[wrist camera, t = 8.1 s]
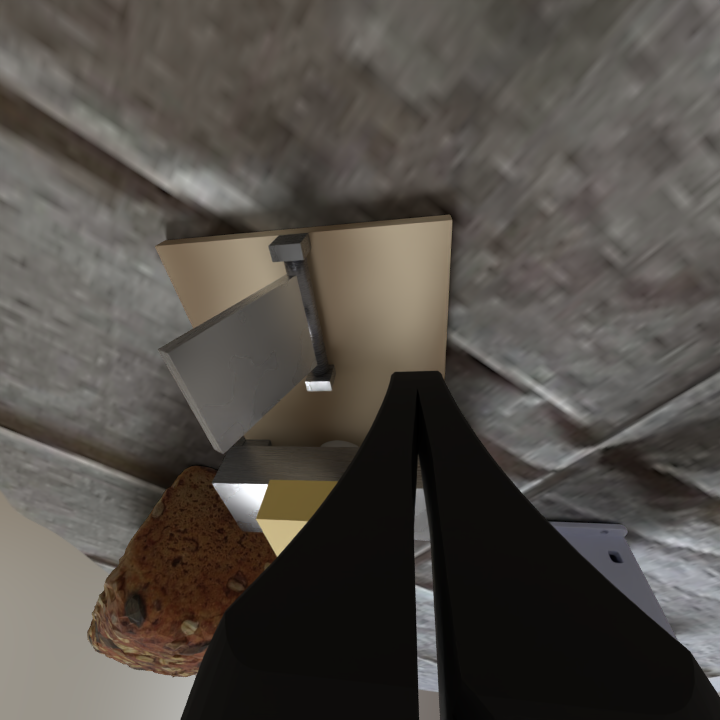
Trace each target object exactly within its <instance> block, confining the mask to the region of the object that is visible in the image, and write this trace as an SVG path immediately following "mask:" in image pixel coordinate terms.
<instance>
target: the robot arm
mask: <svg viewBox="0 0 720 720" xmlns="http://www.w3.org/2000/svg"><path fill="white" fill-rule="evenodd" d="M418 455H419V462H420V469H421V476H422V483H423V490H424V497H425V504H426V511H427V518H428V525H429V533H430V543H431V558H432V576H433V593H434V611H435V629H436V648H437V667H438V686H439V706H440V720H720V697H719V695H718V693H717V692H716V690H715V689H714V687H713V686H712V684H711V683H710V681H709V680H708V678H707V676H706V675H705V673H704V672H703V670H702V669H701V667H700V666H699V664H698V663H697V661H696V660H695V658H694V657H693V655H692V653H691V652H690V651H689V650H688V649H687V648H685V647H684V646H683V645H682V644H681V643H680V642H678V640H677V638H676V636H675V634H674V632H673V630H672V628H671V626H670V624H669V622H668V620H667V618H666V616H665V614H664V612H663V611H662V609H661V607H660V605H659V603H658V601H657V599H656V597H655V595H654V593H653V591H652V589H651V587H650V586H649V584H648V582H647V580H646V578H645V576H644V574H643V572H642V570H641V568H640V566H639V564H638V563H637V561H636V559H635V557H634V555H633V553H632V551H631V549H630V547H629V545H628V543H627V541H626V539H625V538H624V537H625V536H626V534H627V533H628V531H627V529H626V527H625V526H624V525H621V524H601V523H575V522H550V521H547V520H546V519H545V518H544V517H543V516H542V515H541V514H540V513H539V511H538V510H537V509H536V508H535V507H534V506H533V505H532V504H531V503H530V502H529V500H528V499H527V498H526V497H525V496H524V495H523V494H522V493H521V492H520V490H519V489H518V488H517V487H516V486H515V485H514V483H513V482H512V481H511V480H510V479H509V478H508V476H507V475H506V474H505V473H504V472H503V470H502V469H501V468H500V467H499V465H498V464H497V463H496V461H495V460H494V459H493V458H492V456H491V455H490V454H489V452H488V451H487V450H486V448H485V447H484V445H483V444H482V443H481V441H480V440H479V439H478V437H477V436H476V434H475V433H474V431H473V430H472V428H471V427H470V425H469V424H468V422H467V420H466V419H465V417H464V416H463V414H462V413H461V411H460V409H459V408H458V406H457V404H456V402H455V401H454V399H453V397H452V395H451V393H450V391H449V389H448V387H447V385H446V383H445V381H444V379H443V376H442V374H441V373H440V372H439V371H406V372H394V373H393V374H392V375H391V378H390V383H389V386H388V389H387V392H386V395H385V397H384V400H383V402H382V405H381V407H380V409H379V411H378V413H377V415H376V418H375V420H374V422H373V424H372V426H371V428H370V430H369V432H368V434H367V435H366V437H365V439H364V441H363V443H362V444H361V446H360V448H359V450H358V451H357V453H356V455H355V456H354V458H353V460H352V461H351V463H350V464H349V466H348V468H347V469H346V471H345V472H344V474H343V475H342V477H341V478H340V480H339V481H338V482H337V484H336V485H335V487H334V488H333V489H332V491H331V492H330V493H329V495H328V496H327V497H326V499H325V500H324V502H323V503H322V504H321V506H320V507H319V508H318V509H317V511H316V512H315V513H314V515H313V516H312V517H311V518H310V519H309V521H308V522H307V523H306V524H305V525H304V527H303V528H302V529H301V530H300V531H299V532H298V534H297V535H296V536H295V537H294V538H293V539H292V540H291V542H290V543H289V544H288V545H287V546H286V547H285V549H284V550H283V551H282V552H281V553H280V554H279V555H278V557H277V558H276V559H275V560H274V561H273V562H272V563H271V564H270V565H269V566H268V567H267V568H266V569H265V570H264V571H263V572H262V573H261V574H260V575H259V577H258V578H257V579H256V580H255V581H254V582H253V583H252V584H251V585H250V586H249V587H248V588H247V589H246V590H245V591H244V592H243V593H242V594H241V595H240V596H239V597H238V598H237V599H236V600H235V601H234V602H233V603H232V604H231V605H230V606H229V607H228V608H227V610H226V611H225V613H224V615H223V616H222V618H221V620H220V622H219V624H218V626H217V629H216V631H215V633H214V635H213V637H212V639H211V642H210V644H209V646H208V648H207V650H206V652H205V654H204V656H203V659H202V662H201V664H200V667H199V670H198V673H197V675H196V678H195V681H194V684H193V687H192V689H191V692H190V695H189V698H188V700H187V703H186V706H185V709H184V712H183V714H182V717H181V720H419V703H418V667H417V632H416V597H415V562H414V522H415V504H416V486H417V467H418Z"/></svg>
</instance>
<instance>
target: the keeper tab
mask: <svg viewBox="0 0 720 720" xmlns="http://www.w3.org/2000/svg"><path fill="white" fill-rule="evenodd" d="M284 265H285V269H286V273H287V274H286V275H284V276H282V277H281V278H279V279H277V280H276V281H274V282H272V283H271V284H269V285H267V286H265V287H264V288H262V289H260V290H259V291H257V292H255V293H253V294H252V295H250V296H248V297H247V298H245V299H243V300H241V301H240V302H238V303H236V304H235V305H233V306H231V307H229V308H228V309H226V310H224V311H223V312H221V313H219V314H217V315H216V316H214V317H212V318H211V319H209V320H207V321H206V322H204V323H202V324H200V325H199V326H197V327H195V328H194V329H192V330H190V331H188V332H187V333H185V334H183V335H182V336H180V337H178V338H176V339H175V340H173V341H171V342H170V343H168V344H166V345H164V346H163V347H161V348H159V349H158V351H159V353H160V354H161V356H162V358H163V360H164V361H165V363H166V365H167V367H168V369H169V370H170V372H171V374H172V376H173V377H174V379H175V381H176V383H177V384H178V386H179V388H180V390H181V391H182V393H183V395H184V397H185V398H186V400H187V402H188V404H189V406H190V407H191V409H192V411H193V413H194V414H195V416H196V418H197V420H198V421H199V423H200V425H201V427H202V428H203V430H204V432H205V434H206V436H207V437H208V439H209V441H210V443H211V444H212V446H213V448H214V449H215V450H217V451H218V452H220V453H222V454H224V453H225V452H226V451H227V450H228V449H230V448H231V447H232V446H233V445H234V444H235V443H236V442H237V441H238V440H239V439H240V438H241V437H242V436H243V435H244V434H245V433H246V432H247V431H249V430H250V429H251V428H252V427H253V426H254V425H255V424H256V423H257V422H258V421H259V420H260V419H261V418H262V417H263V416H264V415H265V414H266V413H267V412H269V411H270V410H271V409H272V408H273V407H274V406H275V405H276V404H277V403H278V402H279V401H280V400H281V399H282V398H283V397H284V396H285V395H286V394H288V393H289V392H290V391H291V390H292V389H293V388H294V387H295V386H296V385H297V384H298V383H299V382H300V381H301V380H302V379H303V378H304V377H305V376H307V375H308V374H309V373H310V372H312V374H314V375H323V374H325V373H327V372H328V371H329V364H328V359H327V354H326V349H325V344H324V340H323V335H322V330H321V325H320V320H319V316H318V311H317V306H316V301H315V296H314V292H313V287H312V282H311V277H310V272H309V268H308V263H307V258H306V257H305V259H304V260H296V261H284Z"/></svg>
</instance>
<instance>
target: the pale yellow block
mask: <svg viewBox="0 0 720 720" xmlns="http://www.w3.org/2000/svg"><path fill="white" fill-rule="evenodd" d="M320 447H358V446H357V445H355V444H353V443H350V442H347V441H341V440H334V441H329V442H326V443H324V444H322V445H321V446H320ZM337 482H338V481H305V480H270V481H269V484H268V486H267V489H266V492H265V495H264V498H263V500H262V503H261V506H260V509H259V511H258V514H257V517H256V520H257V522H258V524H259V526H260V527H261V529H262V531H263V533H264V534H265V536H266V538H267V540H268V541H269V543H270V545H271V547H272V549H273V550H274V552H275V554H276V556H277V557H278V555H279V554H280V553H281V552H282V551H283V550H284V549H285V547H286V546H287V545H288V544H289V543H290V542H291V540H292V539H293V538H294V537H295V536H296V535H297V534H298V532H299V531H300V530H301V529H302V528H303V527H304V525H305V524H306V523H307V522H308V521H309V519H310V518H311V517H312V516H313V515H314V513H315V512H316V511H317V509H318V508H319V507H320V506H321V504H322V503H323V502H324V500H325V499H326V497H327V496H328V495H329V493H330V492H331V491H332V489H333V488H334V487H335V485H336V484H337Z"/></svg>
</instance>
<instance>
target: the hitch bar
mask: <svg viewBox="0 0 720 720" xmlns="http://www.w3.org/2000/svg"><path fill="white" fill-rule="evenodd" d="M268 247H269V251H270V254H271V258H272V262H283V261H296V260H304V259H305V257H306V256H307V254H308V253H309V251H310V250H311V243H310V238H309V233H299V234H288V235H279V236H278V237H277V238H276V239H275V240H274V241H273V242H272V243H271V244H270V245H269V246H268ZM335 376H336V371H335V366H334V364H331V365H329V371H328V372H327V373H325V374H323V375H314V374H312V372H310V373H309V374H308V375H307V378H306V380H305V384H306V387H307V391H332V388H333V384H334V380H335ZM359 448H360V447H295V446H272V444H271V441H270V440H250V439H246V440H245V442H244V444H243V446H232V447H231V448H230V449H229V450H228V452H227V454H226V456H225V458H224V460H223V462H222V464H221V466H220V468H219V470H218V471H217V473H216V475H215V477H214V479H213V481H212V484H213V486H214V488H215V489H216V491H217V492H218V494H219V496H220V497H221V499H222V500H223V502H224V503H225V505H226V507H227V508H228V510H229V511H230V513H231V514H232V516H233V518H234V519H235V521H236V522H237V524H238V526H239V527H240V529H241V530H242V531H243V532H263V531H262V529H261V527H260V526H259V524H258V522H257V520H256V517H257V514H258V511H259V509H260V506H261V503H262V500H263V498H264V495H265V492H266V489H267V486H268V484H269V481H270V480H305V481H339V480H340V478H341V477H342V475H343V474H344V472H345V471H346V469H347V468H348V466H349V464H350V463H351V461H352V460H353V458H354V456H355V455H356V453H357V451H358V450H359ZM414 540H426V541H430V533H429V525H428V518H427V511H426V504H425V497H424V490H423V483H422V476H421V469H420V462H419V455H418V467H417V486H416V504H415V522H414Z"/></svg>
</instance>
